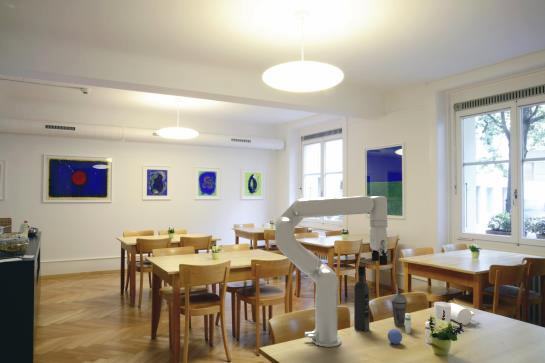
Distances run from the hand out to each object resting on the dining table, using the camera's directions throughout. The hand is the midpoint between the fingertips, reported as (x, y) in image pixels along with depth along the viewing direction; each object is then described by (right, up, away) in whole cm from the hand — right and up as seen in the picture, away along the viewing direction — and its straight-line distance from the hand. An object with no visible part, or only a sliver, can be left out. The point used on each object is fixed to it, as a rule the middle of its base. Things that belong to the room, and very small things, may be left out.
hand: (379, 262), depth 167 cm
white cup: (+37, -35, +20) cm, 55 cm away
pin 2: (+21, -34, -3) cm, 40 cm away
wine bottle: (-5, -35, +13) cm, 37 cm away
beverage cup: (+15, -35, +18) cm, 42 cm away
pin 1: (+16, -34, +9) cm, 39 cm away
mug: (+49, -35, +25) cm, 65 cm away
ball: (+6, -31, -4) cm, 32 cm away
